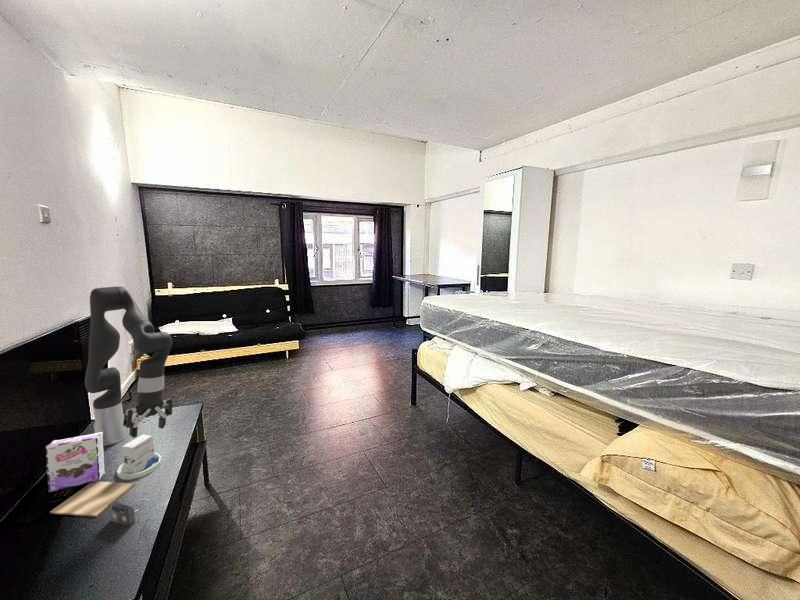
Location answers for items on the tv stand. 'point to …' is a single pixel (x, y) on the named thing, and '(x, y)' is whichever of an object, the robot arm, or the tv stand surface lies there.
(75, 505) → the wooden board
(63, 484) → the candy box
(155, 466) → the ceramic dish
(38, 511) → the tv stand surface
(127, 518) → the mini dv tape
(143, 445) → the ink box
